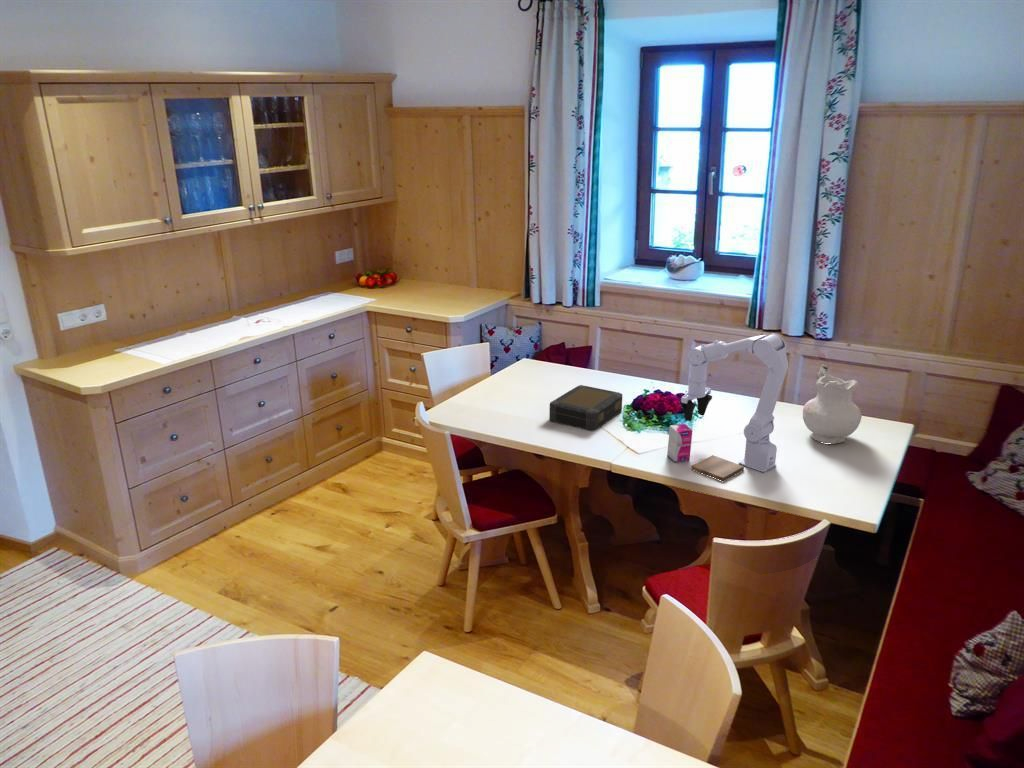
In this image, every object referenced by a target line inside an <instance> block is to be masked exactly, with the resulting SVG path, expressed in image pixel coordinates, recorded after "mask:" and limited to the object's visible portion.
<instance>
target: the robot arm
mask: <svg viewBox="0 0 1024 768" xmlns="http://www.w3.org/2000/svg"><path fill="white" fill-rule="evenodd" d="M742 351H748V352H749V353H750V354H754V355H755V356H756V357H757V358H758V359H759V360H760V361H761V362H762V363H763V364H764V365H766V367H767V368H768V372H767V375H766V378H765V382H764V384H763V388H762V391H761V394H760V398H759V400H758V402H757V403H758V404H757V405H756V406H757V407H756V410H755V412H754V413H753V415H752V417H751V418H750V419H749V421H748V424H746V425H745V427H744V428H743V434H744V435H743V436H744V437H745V439H746V440H745V447H744V449H745V450H744V459H741V460H739V461H738V464H739V465H741V466H744V467H747V468H749V469H754V470H756V471H759V472H761V473H766V472H767V471H768V470H771V469H772V468H774V467H775V466H777V464H776V461H777V460H776V458H777V451H778V449H777V445H776V444H775V443H772V442H771V441H770V435H771V434H772V433H773V431H774V430H775V425H774V422H775V421H774V420H775V416H774V415H773V413H774V410H775V408H776V406H777V402H778V398H779V396H780V393H781V389H782V387H783V384H784V380H785V378H786V375H787V373H788V369H789V360H788V357H787V343H786V342H785V340H784V339H783V337H782V336H781V335H780V334H778V333H770V334H761V335H756V336H755V335H754V336H751V337H748V338H747V337H746V338H743V339H739V340H737V341H733V342H729V343H727V342H725V341H723V340H720V341H719V340H718V339H716V340H714V341H713V342H712V343H708V344H706V343H702V344H701V345H698V346H696V347H694V348H692V349H689V351H688V352H687V360H688V362H689V363H690V364H689V374H688V375H689V376H688V388H687V389H685V394H684V395H683V396H681V399H680V400H679V404H680V406H681V408H682V412H683V415H684V420H685V421H687V422H692V419H693V415H694V412H695V407H696V406H697V415H700V416H705V413H706V411H707V408H708V406H709V404H710V402H711V400H712V399H713V395H710V394H711V393H712V388H711V387H707V386H706V385H707V375H708V374H707V371H708V363H709V362H714V361H718V360H723V359H726V358H727V357H728V356H729V354H732V353H738V352H742ZM693 400H696V402H697V404H696V403H694V402H693Z"/></svg>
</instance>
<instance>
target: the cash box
mask: <svg viewBox="0 0 1024 768" xmlns="http://www.w3.org/2000/svg"><path fill="white" fill-rule="evenodd" d="M622 411H623V393H621V392H617V391H613V390H608V389H603V388H599V387H598V388H597V387H594V386H593V387H592V386H588V385H583V384H579V385H577V386H576V387H574V388H572V389H570V390H568V391H566V392H565V393H564V394H561V395H560V396H559V397H557V398H556V399H554V400H552V401H551V402H549V421H550V422H552V423H556V424H561V425H564V426H569V427H573V428H578V429H581V430H585V431H591V432H595V431H597V430H598V429H599V428H601V427H602V426H604V425H605V424H607V423H608V422H609V421H611V420H612V419H613V418H615V417H616V416H617V415H619V414H621V413H622ZM618 413H619V414H618ZM614 416H615V417H614ZM607 421H608V422H607ZM603 424H604V425H603Z"/></svg>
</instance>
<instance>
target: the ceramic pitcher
mask: <svg viewBox="0 0 1024 768" xmlns="http://www.w3.org/2000/svg"><path fill="white" fill-rule="evenodd" d="M817 375H818V376H817V381H816V383H815V386H816V389H817V394H816V396H815V397H814V398H811V399H810V400H808V401H806V403H804V406H803V408H802V419H803V423H804V424H805V426H806V428H807V430H809V431H810V432H811V433H810V435H811V436H810V437H811V438H812V439H813V440H815V441H816V440H818V441H820V442H823V443H831V444H834V445H836V443H837V444H840V443H844V442H845V441H846V440H845V439H846V437H849V436H851V435H852V434H853V433H854V432H855V431H856V430H858V428H859V425H860V424H861V421H862V415H863V414H862V412H861V409H860V408H859V406H858V405H856V404H855V403H854V402H853V399H852V398H853V394H854V392H855V391H856V390H857V388H858V386H859V381H857V380H856V379H852V380H847V381H845V380H844V379H842V378H841V377H838V376H833V375H832V374H831V372H830V366H828V365H826V364H825V363H824V364H823V363H822V364H821V365H820V369H819V371H818V374H817ZM844 440H845V441H844ZM818 441H817V442H818ZM820 442H819V443H820Z"/></svg>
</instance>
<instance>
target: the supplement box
mask: <svg viewBox="0 0 1024 768" xmlns="http://www.w3.org/2000/svg"><path fill="white" fill-rule="evenodd" d="M668 430H669V432H668V442H667V443H668V444H667V451H666V452H667V453H666V454H667V455H666V457H667V458H668V459H670V460H671V461H672V462H673V463H681V462H690V460H691V459H690V458H691V450H692V439H693V429H691V428H690V427H689V426H688V425H686V424H685V423H683V424H682V423H681V424H672V425H669V429H668Z"/></svg>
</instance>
